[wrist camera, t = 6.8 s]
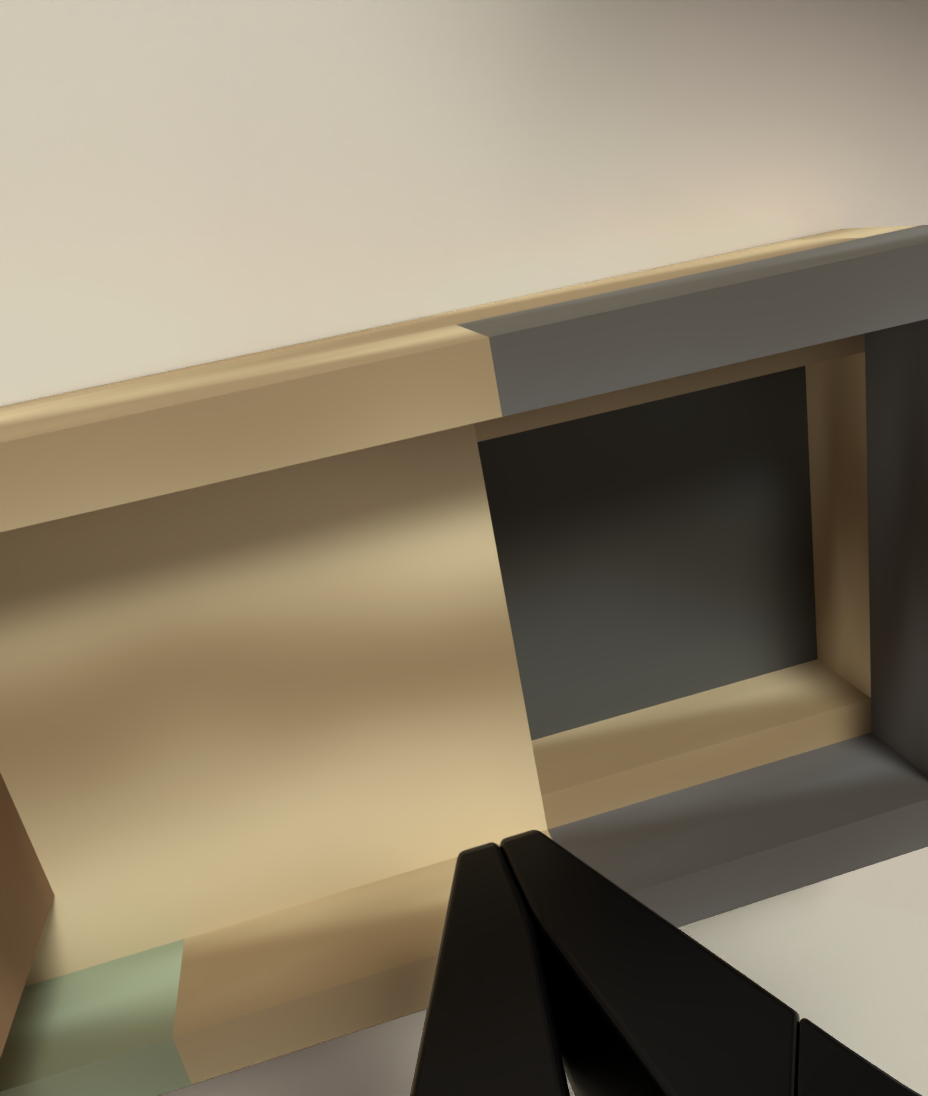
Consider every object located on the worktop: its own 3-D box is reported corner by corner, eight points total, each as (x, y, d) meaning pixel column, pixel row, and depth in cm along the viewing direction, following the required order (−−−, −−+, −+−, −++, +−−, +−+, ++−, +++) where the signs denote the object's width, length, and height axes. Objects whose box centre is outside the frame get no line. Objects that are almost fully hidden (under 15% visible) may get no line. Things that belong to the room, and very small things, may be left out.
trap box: (853, 711, 19) (997, 823, 15) (-734, 1181, 15) (-1073, 1493, 11) (841, 229, 15) (1025, 220, 12) (-1250, 670, 11) (-2002, 876, 7)
